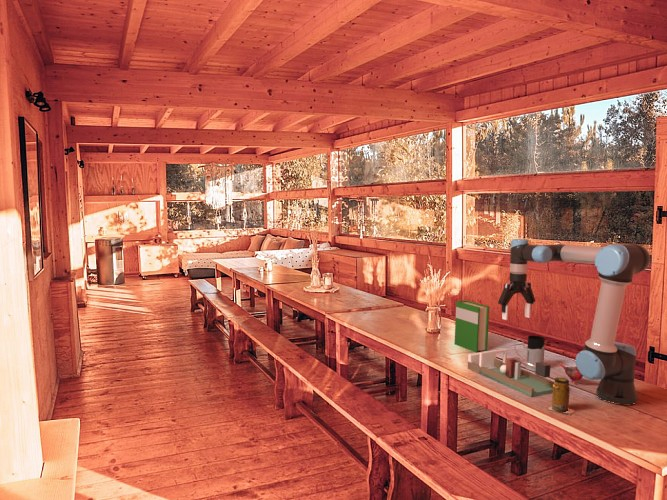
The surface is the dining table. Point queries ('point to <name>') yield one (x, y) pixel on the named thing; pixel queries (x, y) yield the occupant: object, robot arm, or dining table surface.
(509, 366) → the foosball rod
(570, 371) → the decorative bird figurine
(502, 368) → the ball
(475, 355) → the pitch
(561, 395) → the condiment
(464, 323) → the hardback book
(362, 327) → the dining table surface
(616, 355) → the robot arm
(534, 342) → the glass holder
